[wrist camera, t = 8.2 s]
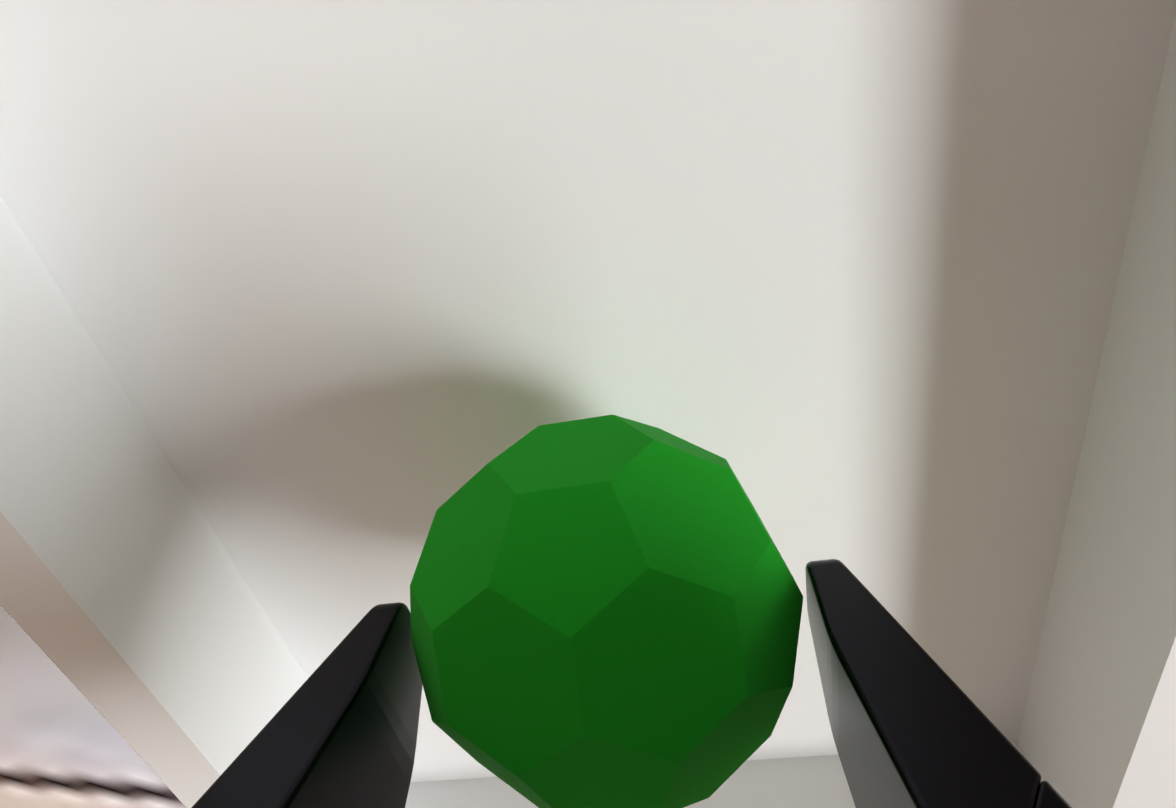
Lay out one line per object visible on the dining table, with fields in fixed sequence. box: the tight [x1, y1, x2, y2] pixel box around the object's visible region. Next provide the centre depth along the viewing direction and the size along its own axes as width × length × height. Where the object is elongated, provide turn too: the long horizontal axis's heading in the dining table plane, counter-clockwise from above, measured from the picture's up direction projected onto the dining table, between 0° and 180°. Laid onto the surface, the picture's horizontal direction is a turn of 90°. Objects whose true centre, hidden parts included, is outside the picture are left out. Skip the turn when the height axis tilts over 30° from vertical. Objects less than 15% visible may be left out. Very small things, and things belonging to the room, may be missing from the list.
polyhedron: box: [410, 415, 803, 808], centre depth 10 cm, size 5×5×5 cm
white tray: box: [0, 0, 1176, 808], centre depth 12 cm, size 18×22×4 cm
